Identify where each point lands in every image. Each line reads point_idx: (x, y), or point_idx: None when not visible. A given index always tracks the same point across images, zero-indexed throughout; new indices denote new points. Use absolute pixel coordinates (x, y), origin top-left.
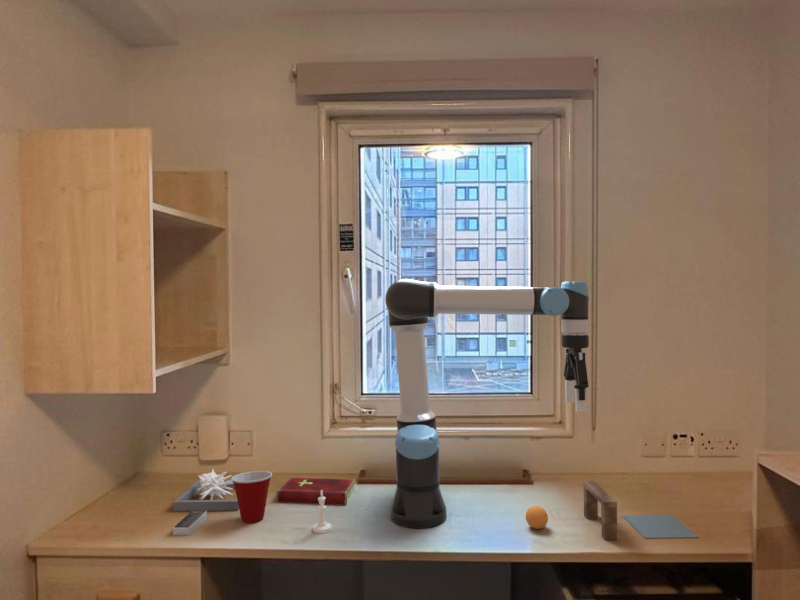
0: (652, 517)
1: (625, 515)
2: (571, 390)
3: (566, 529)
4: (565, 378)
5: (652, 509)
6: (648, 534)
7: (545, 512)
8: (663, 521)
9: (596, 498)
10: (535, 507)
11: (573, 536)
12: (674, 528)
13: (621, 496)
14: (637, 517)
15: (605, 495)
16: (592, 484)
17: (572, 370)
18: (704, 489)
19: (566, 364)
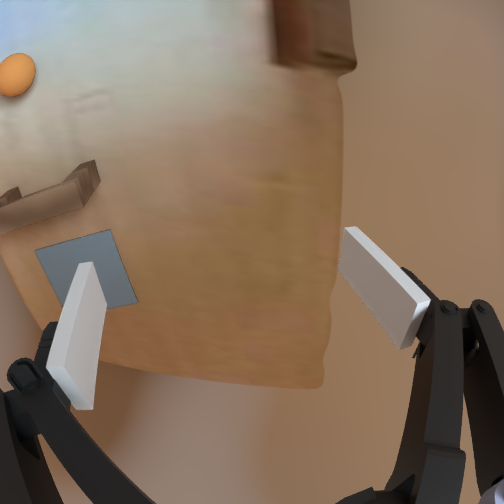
0: (116, 275)
1: (111, 235)
2: (373, 292)
3: (28, 127)
4: (443, 307)
5: (157, 280)
6: (47, 257)
7: (5, 93)
8: (105, 287)
9: (9, 202)
10: (1, 73)
11: (6, 140)
12: None
13: (213, 241)
14: (108, 253)
15: (6, 223)
16: (59, 200)
17: (415, 410)
18: (263, 354)
19: (499, 392)
